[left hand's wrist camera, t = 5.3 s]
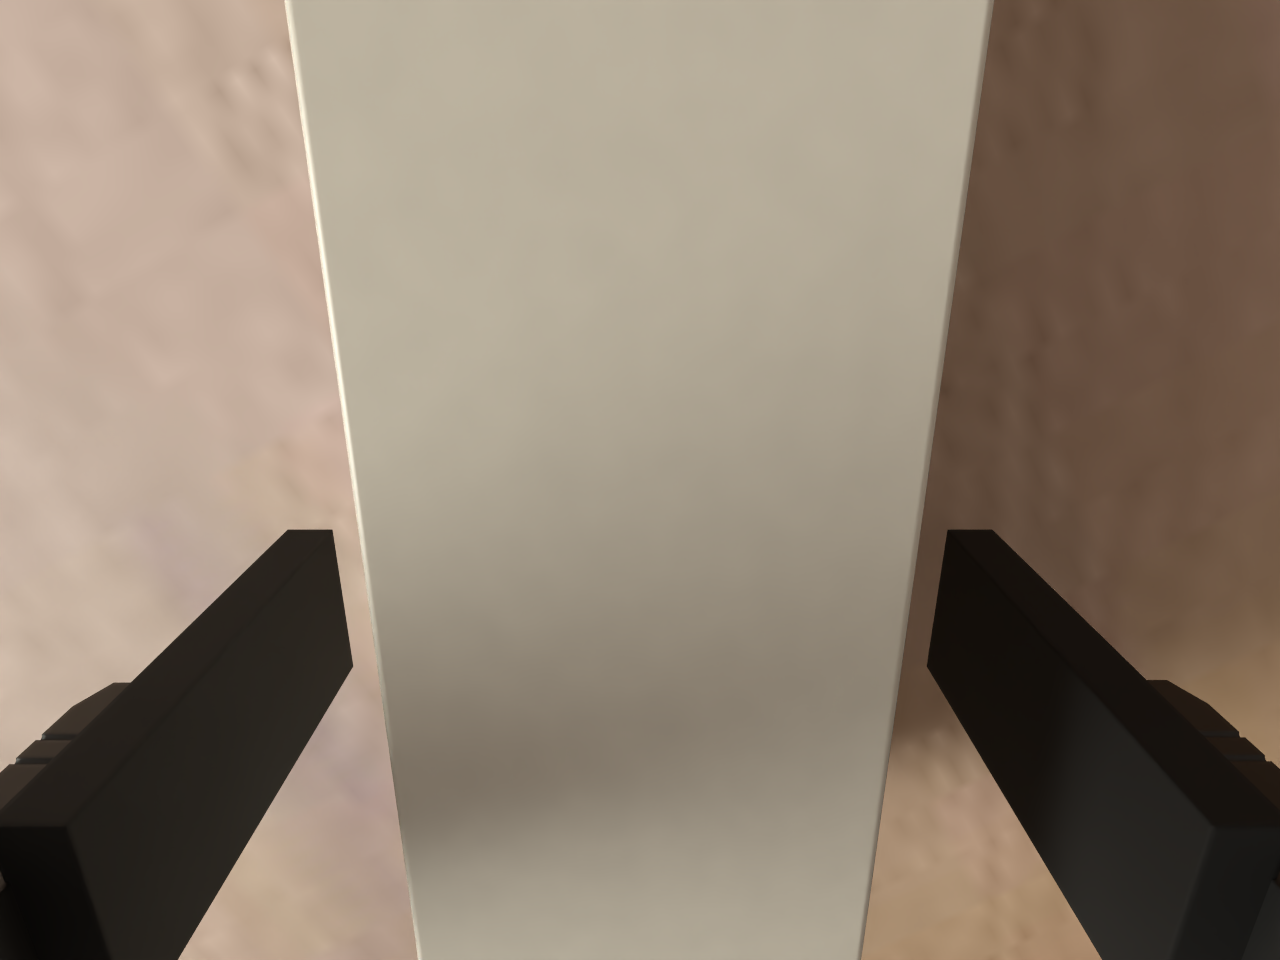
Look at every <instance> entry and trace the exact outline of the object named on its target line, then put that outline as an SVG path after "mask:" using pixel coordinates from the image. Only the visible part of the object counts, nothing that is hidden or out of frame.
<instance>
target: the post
mask: <svg viewBox="0 0 1280 960" xmlns="http://www.w3.org/2000/svg"><path fill="white" fill-rule="evenodd" d="M993 6H994V0H285V7H286V14H287V22H288V29H289V36H290V43H291V50H292V57H293V65H294V72H295V79H296V86H297V93H298V100H299V108H300V115H301V122H302V129H303V136H304V143H305V151H306V158H307V165H308V172H309V179H310V186H311V194H312V201H313V208H314V215H315V222H316V229H317V237H318V244H319V251H320V258H321V265H322V272H323V280H324V287H325V294H326V301H327V308H328V316H329V323H330V330H331V337H332V344H333V351H334V359H335V366H336V373H337V380H338V387H339V394H340V402H341V409H342V416H343V423H344V430H345V437H346V445H347V452H348V459H349V466H350V473H351V480H352V488H353V495H354V502H355V509H356V516H357V523H358V531H359V538H360V545H361V552H362V559H363V566H364V574H365V581H366V588H367V595H368V602H369V610H370V617H371V624H372V631H373V638H374V645H375V653H376V660H377V667H378V674H379V681H380V688H381V696H382V703H383V710H384V717H385V724H386V731H387V739H388V746H389V753H390V760H391V767H392V774H393V782H394V789H395V796H396V803H397V810H398V817H399V825H400V832H401V839H402V846H403V853H404V860H405V868H406V875H407V882H408V889H409V896H410V904H411V911H412V918H413V925H414V932H415V939H416V947H417V954H418V960H861V956H862V949H863V942H864V934H865V927H866V920H867V913H868V906H869V898H870V891H871V884H872V877H873V870H874V862H875V855H876V848H877V841H878V834H879V826H880V819H881V812H882V805H883V798H884V791H885V783H886V776H887V769H888V762H889V755H890V747H891V740H892V733H893V726H894V719H895V711H896V704H897V697H898V690H899V683H900V675H901V668H902V661H903V654H904V647H905V639H906V632H907V625H908V618H909V611H910V603H911V596H912V589H913V582H914V575H915V567H916V560H917V553H918V546H919V539H920V531H921V524H922V517H923V510H924V503H925V495H926V488H927V481H928V474H929V467H930V459H931V452H932V445H933V438H934V431H935V423H936V416H937V409H938V402H939V395H940V387H941V380H942V373H943V366H944V359H945V351H946V344H947V337H948V330H949V323H950V315H951V308H952V301H953V294H954V287H955V279H956V272H957V265H958V258H959V251H960V243H961V236H962V229H963V222H964V215H965V208H966V200H967V193H968V186H969V179H970V172H971V164H972V157H973V150H974V143H975V136H976V128H977V121H978V114H979V107H980V100H981V92H982V85H983V78H984V71H985V64H986V56H987V49H988V42H989V35H990V28H991V20H992V13H993Z"/></svg>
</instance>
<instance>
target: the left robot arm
mask: <svg viewBox="0 0 1280 960" xmlns="http://www.w3.org/2000/svg"><path fill="white" fill-rule="evenodd" d="M352 667H353V662H352V655H351V649H350V642H349V636H348V629H347V622H346V616H345V609H344V603H343V596H342V590H341V583H340V577H339V570H338V563H337V557H336V550H335V544H334V537H333V531H332V530H287V531H286V532H285V533H284V534H283V535H282V536H281V537H280V538H279V539H278V540H277V541H276V542H275V543H274V544H273V545H272V546H271V547H270V548H269V549H268V550H266V551H265V552H264V553H263V554H262V555H261V556H260V557H259V558H258V559H257V560H256V561H255V562H254V563H253V564H252V565H251V566H250V567H249V568H248V569H247V570H246V571H245V572H244V573H243V574H242V575H241V576H240V577H239V578H238V579H237V580H236V581H235V582H234V583H233V584H232V585H231V586H230V587H229V588H227V589H226V590H225V591H224V592H223V593H222V594H221V595H220V596H219V597H218V598H217V599H216V600H215V601H214V602H213V603H212V604H211V605H210V606H209V607H208V608H207V609H206V610H205V611H204V612H203V613H202V614H201V615H200V616H199V617H198V618H197V619H196V620H195V621H194V622H193V623H192V624H191V625H190V626H189V627H187V628H186V629H185V630H184V631H183V632H182V633H181V634H180V635H179V636H178V637H177V638H176V639H175V640H174V641H173V642H172V643H171V644H170V645H169V646H168V647H167V648H166V649H165V650H164V651H163V652H162V653H161V654H160V655H159V656H158V657H157V658H156V659H155V660H154V661H153V662H152V663H151V664H150V665H148V666H147V667H146V668H145V669H144V670H143V671H142V672H141V673H140V674H139V675H138V676H137V677H136V678H135V679H134V680H133V681H132V682H131V683H113V684H111V685H109V686H107V687H106V688H104V689H102V690H100V691H99V692H97V693H95V694H93V695H92V696H90V697H88V698H87V699H85V700H83V701H81V702H80V703H78V704H76V705H74V706H73V707H72V708H70V709H69V710H68V711H67V712H66V713H65V714H64V715H63V716H62V717H61V718H60V719H58V720H57V721H56V722H55V723H54V724H53V725H52V726H51V727H50V728H49V729H48V730H46V731H45V732H44V733H43V734H42V739H41V740H36V741H34V742H33V743H32V744H31V745H30V746H29V747H28V748H27V749H26V750H25V751H24V752H22V753H21V754H20V755H19V756H18V757H17V758H16V763H15V764H9V765H8V766H7V767H6V768H5V769H4V770H3V771H2V772H1V773H0V960H178V958H179V957H180V955H181V953H182V952H183V950H184V948H185V947H186V945H187V943H188V942H189V940H190V938H191V937H192V935H193V933H194V932H195V930H196V928H197V927H198V925H199V923H200V922H201V920H202V918H203V917H204V915H205V913H206V912H207V910H208V908H209V906H210V905H211V903H212V901H213V900H214V898H215V896H216V895H217V893H218V891H219V890H220V888H221V886H222V885H223V883H224V881H225V880H226V878H227V876H228V875H229V873H230V871H231V870H232V868H233V866H234V865H235V863H236V861H237V860H238V858H239V856H240V855H241V853H242V851H243V850H244V848H245V846H246V845H247V843H248V841H249V840H250V838H251V836H252V835H253V833H254V831H255V830H256V828H257V826H258V825H259V823H260V821H261V820H262V818H263V816H264V814H265V813H266V811H267V809H268V808H269V806H270V804H271V803H272V801H273V799H274V798H275V796H276V794H277V793H278V791H279V789H280V788H281V786H282V784H283V783H284V781H285V779H286V778H287V776H288V774H289V773H290V771H291V769H292V768H293V766H294V764H295V763H296V761H297V759H298V758H299V756H300V754H301V753H302V751H303V749H304V748H305V746H306V744H307V743H308V741H309V739H310V738H311V736H312V734H313V733H314V731H315V729H316V728H317V726H318V724H319V723H320V721H321V719H322V717H323V716H324V714H325V712H326V711H327V709H328V707H329V706H330V704H331V702H332V701H333V699H334V697H335V696H336V694H337V692H338V691H339V689H340V687H341V686H342V684H343V682H344V681H345V679H346V677H347V676H348V674H349V672H350V671H351V669H352ZM927 667H928V669H929V671H930V672H931V674H932V676H933V677H934V679H935V681H936V682H937V684H938V686H939V687H940V689H941V691H942V692H943V694H944V696H945V697H946V699H947V701H948V702H949V704H950V706H951V707H952V709H953V711H954V712H955V714H956V716H957V718H958V719H959V721H960V723H961V724H962V726H963V728H964V729H965V731H966V733H967V734H968V736H969V738H970V739H971V741H972V743H973V744H974V746H975V748H976V749H977V751H978V753H979V754H980V756H981V758H982V759H983V761H984V763H985V764H986V766H987V768H988V769H989V771H990V773H991V774H992V776H993V778H994V779H995V781H996V783H997V784H998V786H999V788H1000V789H1001V791H1002V793H1003V794H1004V796H1005V798H1006V799H1007V801H1008V803H1009V804H1010V806H1011V808H1012V810H1013V811H1014V813H1015V815H1016V816H1017V818H1018V820H1019V821H1020V823H1021V825H1022V826H1023V828H1024V830H1025V831H1026V833H1027V835H1028V836H1029V838H1030V840H1031V841H1032V843H1033V845H1034V846H1035V848H1036V850H1037V851H1038V853H1039V855H1040V856H1041V858H1042V860H1043V861H1044V863H1045V865H1046V866H1047V868H1048V870H1049V871H1050V873H1051V875H1052V876H1053V878H1054V880H1055V881H1056V883H1057V885H1058V886H1059V888H1060V890H1061V891H1062V893H1063V895H1064V896H1065V898H1066V900H1067V901H1068V903H1069V905H1070V907H1071V908H1072V910H1073V912H1074V913H1075V915H1076V917H1077V918H1078V920H1079V922H1080V923H1081V925H1082V927H1083V928H1084V930H1085V932H1086V933H1087V935H1088V937H1089V938H1090V940H1091V942H1092V943H1093V945H1094V947H1095V948H1096V950H1097V952H1098V953H1099V955H1100V957H1101V958H1102V960H1280V769H1279V768H1278V767H1277V766H1276V765H1275V764H1274V763H1273V762H1272V761H1266V760H1265V755H1264V754H1263V753H1262V752H1261V751H1259V750H1258V749H1257V748H1256V747H1255V746H1254V745H1253V744H1252V743H1251V742H1250V741H1248V740H1247V739H1246V738H1240V736H1239V731H1237V730H1236V729H1235V728H1234V727H1233V726H1232V725H1231V724H1230V723H1229V722H1228V721H1226V720H1225V719H1224V718H1223V717H1222V716H1221V715H1220V714H1219V713H1218V712H1217V711H1215V710H1214V709H1213V708H1212V707H1211V706H1210V705H1209V704H1208V703H1206V702H1204V701H1202V700H1201V699H1199V698H1197V697H1195V696H1194V695H1192V694H1190V693H1188V692H1187V691H1185V690H1183V689H1181V688H1180V687H1178V686H1176V685H1174V684H1173V683H1171V682H1169V681H1167V680H1146V679H1145V678H1144V677H1143V676H1142V675H1141V674H1140V673H1139V672H1138V671H1137V670H1136V669H1135V668H1134V667H1133V666H1131V665H1130V664H1129V663H1128V662H1127V661H1126V660H1125V659H1124V658H1123V657H1122V656H1121V655H1120V654H1119V653H1118V652H1117V651H1116V650H1115V649H1114V648H1113V647H1112V646H1111V645H1110V644H1109V643H1108V642H1107V641H1106V640H1105V639H1104V638H1103V637H1102V636H1101V635H1100V634H1099V633H1098V632H1097V631H1096V630H1095V629H1094V628H1092V627H1091V626H1090V625H1089V624H1088V623H1087V622H1086V621H1085V620H1084V619H1083V618H1082V617H1081V616H1080V615H1079V614H1078V613H1077V612H1076V611H1075V610H1074V609H1073V608H1072V607H1071V606H1070V605H1069V604H1068V603H1067V602H1066V601H1065V600H1064V599H1063V598H1062V597H1061V596H1060V595H1059V594H1058V593H1057V592H1056V591H1055V590H1054V589H1052V588H1051V587H1050V586H1049V585H1048V584H1047V583H1046V582H1045V581H1044V580H1043V579H1042V578H1041V577H1040V576H1039V575H1038V574H1037V573H1036V572H1035V571H1034V570H1033V569H1032V568H1031V567H1030V566H1029V565H1028V564H1027V563H1026V562H1025V561H1024V560H1023V559H1022V558H1021V557H1020V556H1019V555H1018V554H1017V553H1016V552H1015V551H1013V550H1012V549H1011V548H1010V547H1009V546H1008V545H1007V544H1006V543H1005V542H1004V541H1003V540H1002V539H1001V538H1000V537H999V536H998V535H997V534H996V533H995V532H994V531H993V530H948V531H947V537H946V544H945V550H944V557H943V563H942V570H941V576H940V583H939V590H938V596H937V603H936V609H935V616H934V622H933V629H932V635H931V642H930V649H929V655H928V662H927Z"/></svg>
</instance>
